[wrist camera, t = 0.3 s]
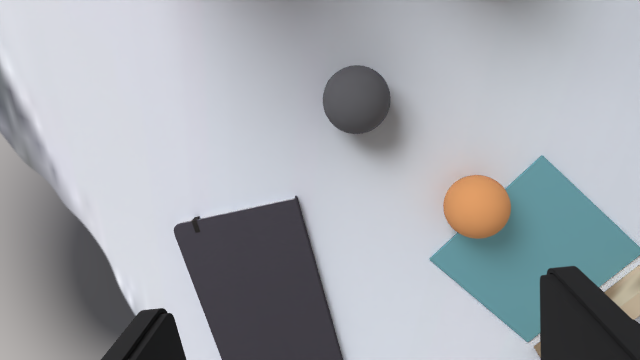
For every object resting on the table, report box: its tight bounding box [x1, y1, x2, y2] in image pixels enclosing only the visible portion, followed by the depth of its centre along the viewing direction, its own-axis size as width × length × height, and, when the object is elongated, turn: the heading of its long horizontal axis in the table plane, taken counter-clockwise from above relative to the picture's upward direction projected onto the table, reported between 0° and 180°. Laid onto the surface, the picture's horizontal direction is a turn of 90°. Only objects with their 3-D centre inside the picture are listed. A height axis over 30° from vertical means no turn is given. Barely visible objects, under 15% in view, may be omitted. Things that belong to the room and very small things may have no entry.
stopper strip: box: [534, 265, 640, 358], centre depth 41 cm, size 14×2×2 cm, turn 139°
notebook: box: [174, 196, 343, 360], centre depth 44 cm, size 13×2×21 cm
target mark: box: [430, 156, 640, 342], centre depth 41 cm, size 14×14×1 cm
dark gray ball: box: [323, 66, 390, 134], centre depth 35 cm, size 6×6×6 cm
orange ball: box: [443, 175, 511, 239], centre depth 37 cm, size 6×6×6 cm
